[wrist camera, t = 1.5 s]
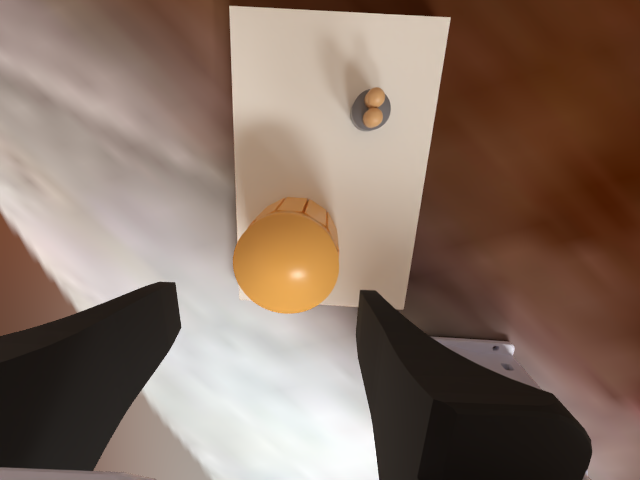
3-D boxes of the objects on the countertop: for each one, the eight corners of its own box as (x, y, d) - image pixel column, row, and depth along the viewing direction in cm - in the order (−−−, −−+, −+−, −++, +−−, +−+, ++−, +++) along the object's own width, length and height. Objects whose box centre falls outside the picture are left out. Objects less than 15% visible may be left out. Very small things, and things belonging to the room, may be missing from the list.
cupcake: (339, 200, 19) (343, 218, 14) (333, 277, 21) (335, 316, 16) (254, 195, 19) (230, 211, 14) (256, 272, 21) (234, 310, 16)
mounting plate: (440, 27, 17) (483, -16, 13) (398, 299, 23) (417, 339, 18) (237, 17, 18) (203, -31, 13) (244, 290, 23) (223, 327, 18)
